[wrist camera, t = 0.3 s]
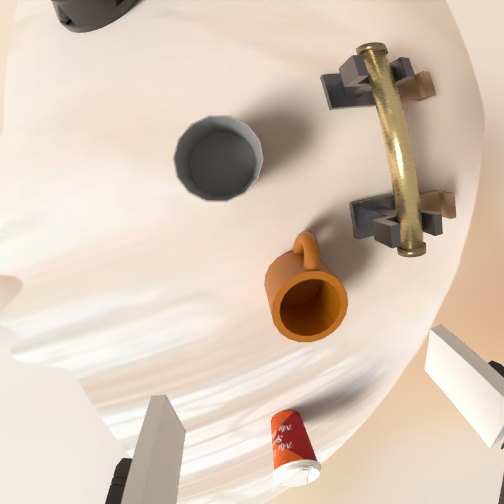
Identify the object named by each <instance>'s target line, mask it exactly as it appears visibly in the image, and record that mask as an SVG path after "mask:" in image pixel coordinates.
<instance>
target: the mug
mask: <svg viewBox="0 0 504 504" xmlns="http://www.w3.org/2000/svg"><path fill="white" fill-rule="evenodd" d="M265 289H266V293H267V297H268V301H269V305H270V309H271V313H272V318H273V322H274V325H275V326H276V327H277V329H278V330H279V332H280V333H281V334H283V335H284V336H285V337H287V338H288V339H291V340H294V341H297V342H313V341H317V340H320V339H323V338H324V337H326V336H328V335H330V334H331V333H333V332H334V331H335V330H336V329H337V328H338V327H339V325H340V324H341V322H342V321H343V319H344V317H345V315H346V311H347V307H348V298H347V292H346V290H345V288H344V286H343V284H342V283H341V282H340V281H339V280H338V279H337V278H336V277H335V276H334V275H333V274H332V273H331V272H330V270H329V269H328V268H327V267H326V266H325V265H324V264H323V263H322V262H321V261H320V253H319V246H318V242H317V240H316V238H315V236H314V235H313V234H312V233H311V232H307V231H305V232H302V233H300V234H299V235H298V237H297V238H296V241H295V244H294V248H293V252H289V253H285V254H283V255H282V256H280V257H278V258H277V259H276V260H275V261H274V262H273V263H272V264H271V265H270V266H269V269H268V271H267V273H266V275H265Z"/></svg>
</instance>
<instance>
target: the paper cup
mask: <svg viewBox="0 0 504 504" xmlns="http://www.w3.org/2000/svg"><path fill="white" fill-rule="evenodd" d="M271 430H272V444H273V457H274V470H275V471H274V473H273V477H274V479H275V480H276V481H277V483H278V484H280V485H282V486H286V487H295V486H301V485H305V484H308V483H310V482H312V481H314V480H315V479H316V478H318V476H319V474H320V470H321V464H320V463H319V462H317V459H316V456H315V453H314V451H313V448H312V445H311V443H310V440H309V437H308V435H307V432H306V429H305V427H304V424H303V421H302V419H301V416H300V415H299V413H298V412H296V411H293V410H285V411H281V412H279V413H277V414H275V415H274V416H273V417H272V420H271ZM307 481H308V482H307Z"/></svg>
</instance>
